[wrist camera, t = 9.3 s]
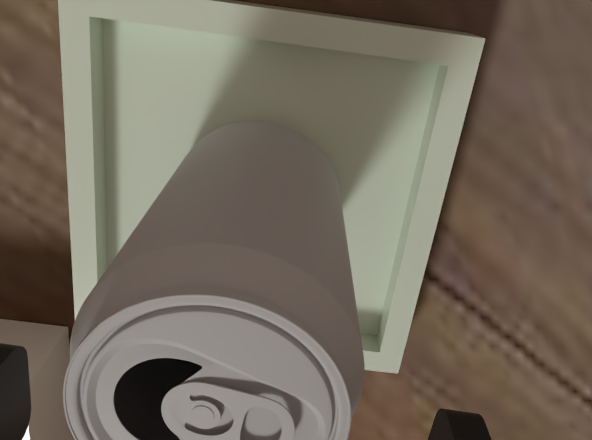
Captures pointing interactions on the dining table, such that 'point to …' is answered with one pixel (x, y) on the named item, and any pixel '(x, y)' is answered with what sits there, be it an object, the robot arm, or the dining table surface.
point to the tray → (271, 108)
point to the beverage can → (225, 304)
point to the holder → (43, 375)
